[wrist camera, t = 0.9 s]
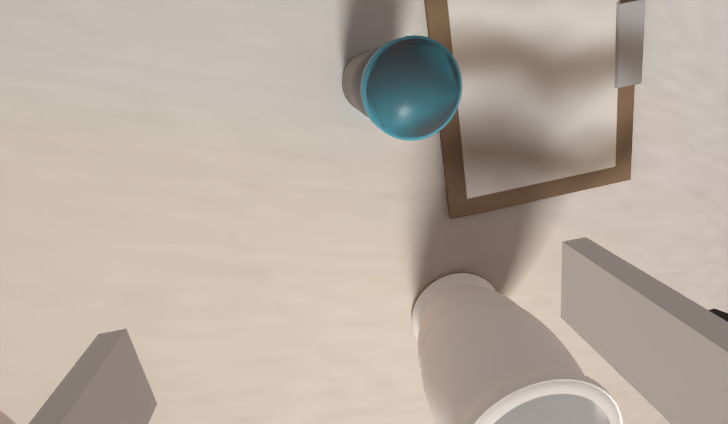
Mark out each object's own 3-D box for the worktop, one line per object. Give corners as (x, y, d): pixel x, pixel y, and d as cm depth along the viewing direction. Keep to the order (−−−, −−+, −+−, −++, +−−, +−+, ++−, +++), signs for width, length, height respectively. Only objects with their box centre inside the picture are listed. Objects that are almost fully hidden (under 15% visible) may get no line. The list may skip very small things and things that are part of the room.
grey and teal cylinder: (332, 57, 30) (355, 46, 16) (390, 46, 30) (456, 26, 17) (344, 116, 31) (373, 149, 18) (398, 105, 31) (466, 130, 18)
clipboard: (413, -89, 27) (417, -94, 27) (642, -127, 28) (651, -133, 28) (449, 217, 35) (453, 221, 34) (629, 177, 36) (636, 180, 35)
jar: (497, 360, 40) (599, 514, 26) (393, 362, 39) (444, 527, 25) (518, 261, 37) (648, 377, 23) (406, 259, 36) (472, 382, 21)
